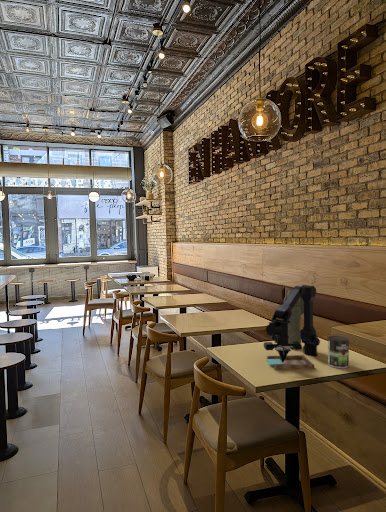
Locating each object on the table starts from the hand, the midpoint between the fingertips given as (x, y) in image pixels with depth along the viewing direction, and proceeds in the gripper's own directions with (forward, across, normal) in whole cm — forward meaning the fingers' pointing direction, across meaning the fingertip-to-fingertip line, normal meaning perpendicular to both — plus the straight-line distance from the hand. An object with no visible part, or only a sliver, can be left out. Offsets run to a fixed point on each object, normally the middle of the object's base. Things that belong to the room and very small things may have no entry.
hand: (282, 362), depth 196 cm
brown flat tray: (+2, -4, 0) cm, 4 cm away
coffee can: (+2, -29, +2) cm, 29 cm away
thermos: (+2, -16, -31) cm, 35 cm away
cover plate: (+1, +4, 0) cm, 4 cm away
